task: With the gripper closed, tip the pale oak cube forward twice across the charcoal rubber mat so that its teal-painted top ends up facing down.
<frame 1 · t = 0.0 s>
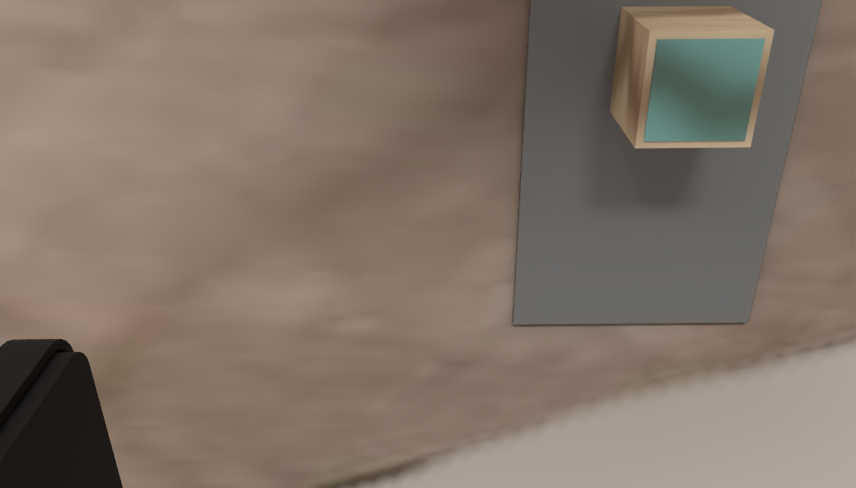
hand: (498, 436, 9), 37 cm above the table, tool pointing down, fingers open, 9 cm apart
mat: (652, 156, 46), on the table
cube: (668, 60, 43), resting on mat
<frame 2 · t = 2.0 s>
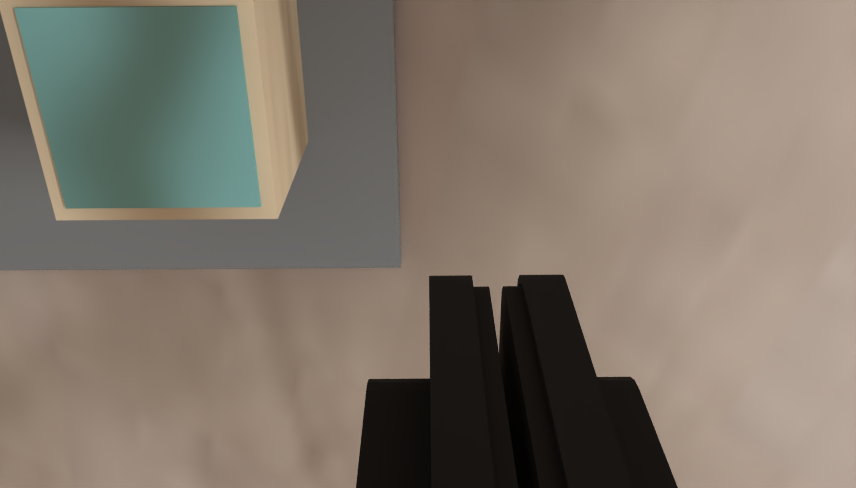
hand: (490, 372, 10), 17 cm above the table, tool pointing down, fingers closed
mat: (27, 51, 25), on the table
cube: (207, 52, 24), resting on mat
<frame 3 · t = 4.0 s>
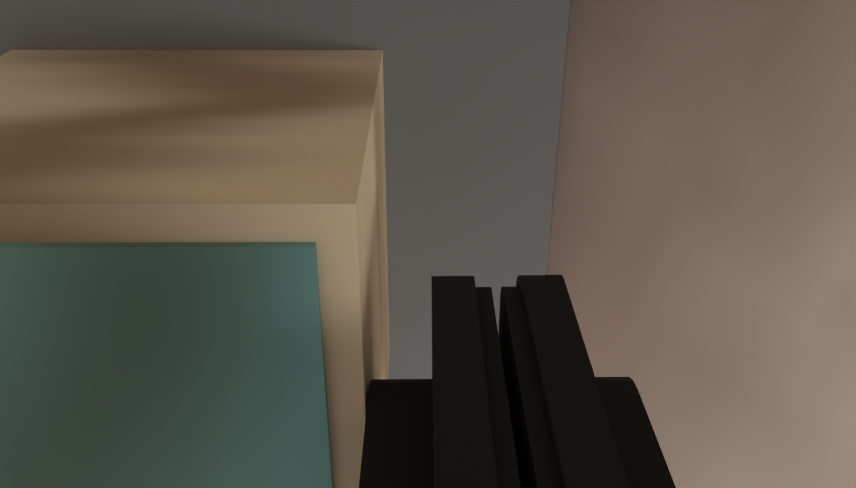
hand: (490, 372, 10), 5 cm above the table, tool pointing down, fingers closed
cube: (220, 216, 14), resting on mat, touching gripper
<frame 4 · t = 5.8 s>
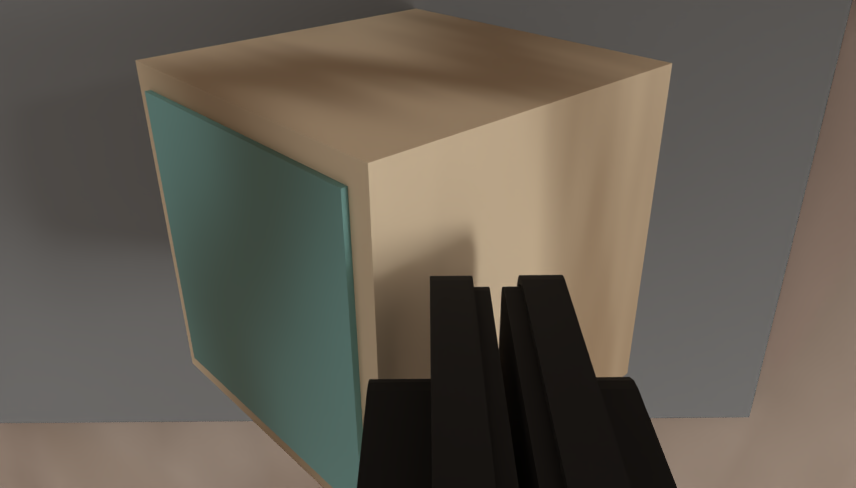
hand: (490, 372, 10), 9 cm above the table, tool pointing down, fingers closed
mat: (287, 140, 17), on the table
cube: (517, 184, 15), point 3 cm above the table, tilted 48°, touching mat
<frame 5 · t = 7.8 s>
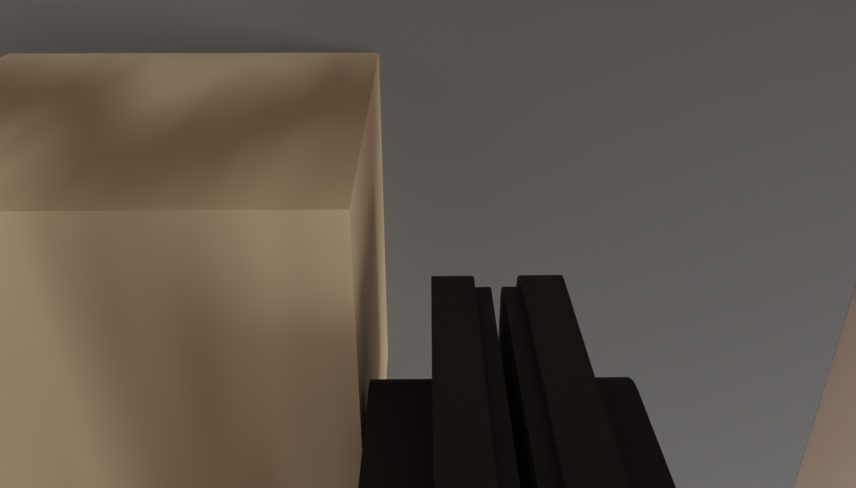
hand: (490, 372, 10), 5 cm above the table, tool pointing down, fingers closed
mat: (222, 209, 14), on the table
cube: (375, 307, 11), point 3 cm above the table, tilted 90°, touching gripper, mat
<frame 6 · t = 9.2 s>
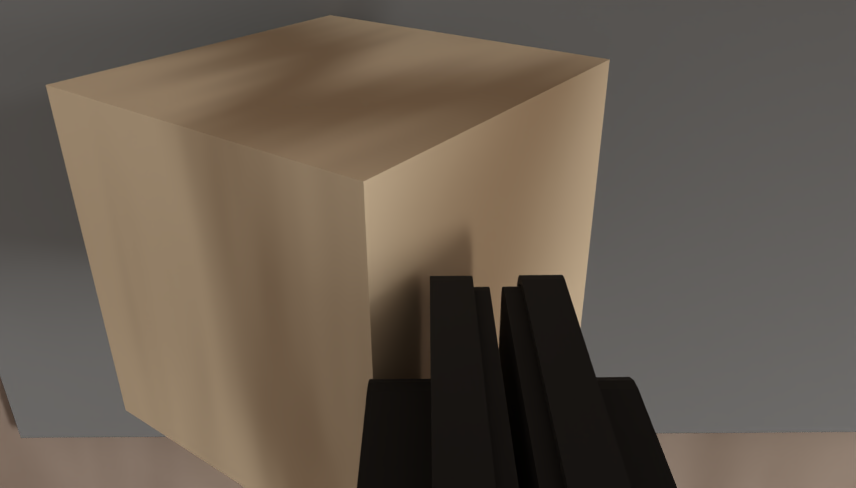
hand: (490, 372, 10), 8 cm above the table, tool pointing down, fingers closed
mat: (474, 148, 17), on the table
cube: (503, 301, 11), point 6 cm above the table, tilted 126°, touching mat
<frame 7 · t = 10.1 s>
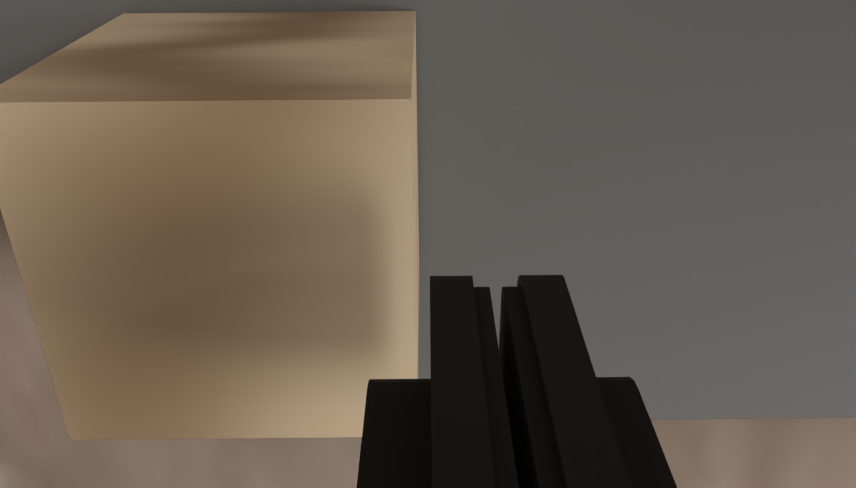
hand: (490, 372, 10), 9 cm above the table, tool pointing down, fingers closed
mat: (548, 139, 17), on the table
cube: (219, 289, 12), point 6 cm above the table, tilted 180°, touching mat
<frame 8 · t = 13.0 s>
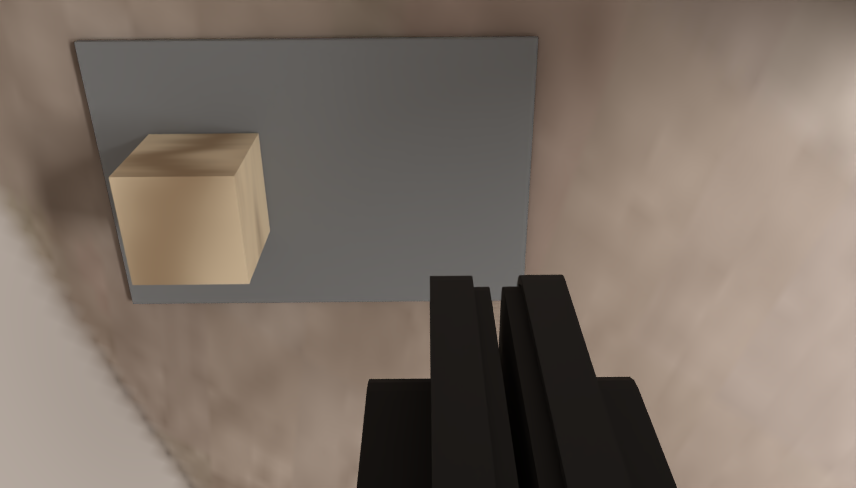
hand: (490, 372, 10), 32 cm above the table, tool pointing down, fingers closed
mat: (318, 179, 43), on the table
cube: (181, 232, 38), point 6 cm above the table, tilted 180°, touching mat
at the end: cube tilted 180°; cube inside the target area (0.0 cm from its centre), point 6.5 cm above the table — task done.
